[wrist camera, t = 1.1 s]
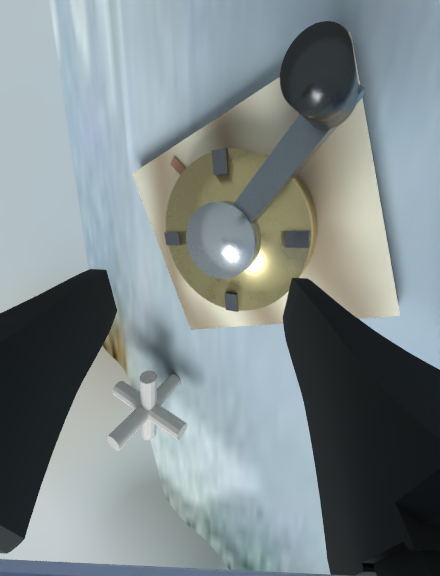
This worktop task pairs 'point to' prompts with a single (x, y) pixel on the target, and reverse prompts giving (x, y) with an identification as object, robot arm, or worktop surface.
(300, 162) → the crank handle
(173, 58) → the worktop surface
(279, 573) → the robot arm
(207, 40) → the worktop surface
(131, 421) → the pipe connector
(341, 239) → the beige flat board
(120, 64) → the worktop surface
